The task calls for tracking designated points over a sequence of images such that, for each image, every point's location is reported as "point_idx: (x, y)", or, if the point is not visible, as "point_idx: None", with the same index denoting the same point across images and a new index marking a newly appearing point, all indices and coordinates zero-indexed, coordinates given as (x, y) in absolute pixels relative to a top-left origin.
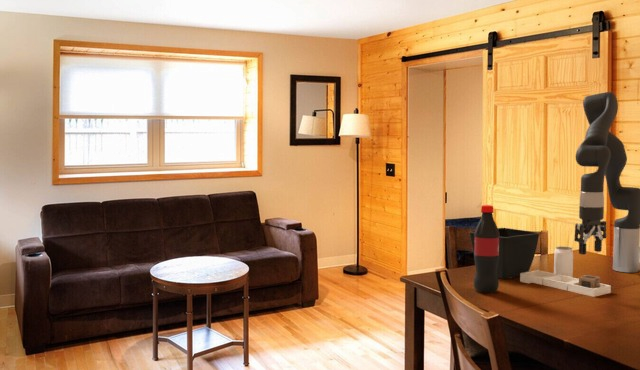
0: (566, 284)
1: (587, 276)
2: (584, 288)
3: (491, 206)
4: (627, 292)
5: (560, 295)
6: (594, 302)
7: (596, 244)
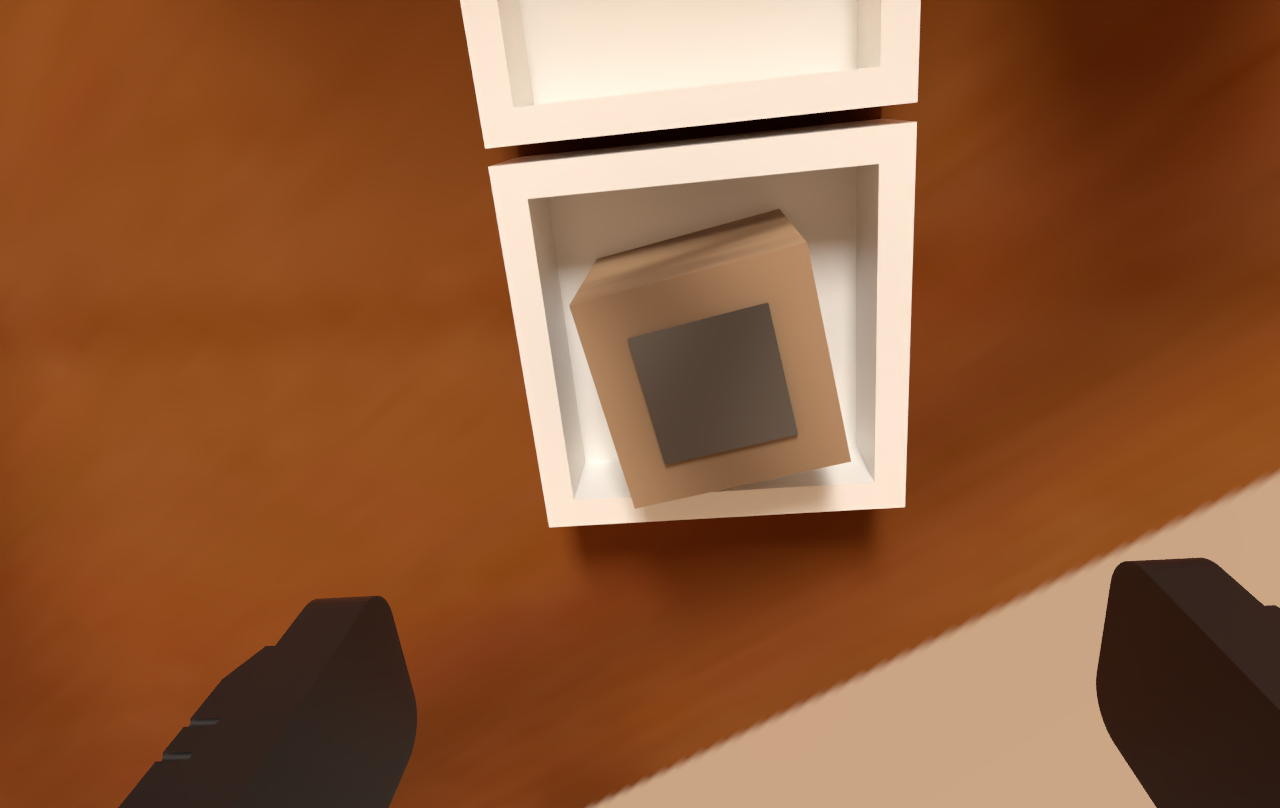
0: (486, 140)
1: (699, 363)
2: (532, 411)
3: None
4: (1147, 472)
5: (355, 196)
6: (480, 547)
7: (1272, 794)
